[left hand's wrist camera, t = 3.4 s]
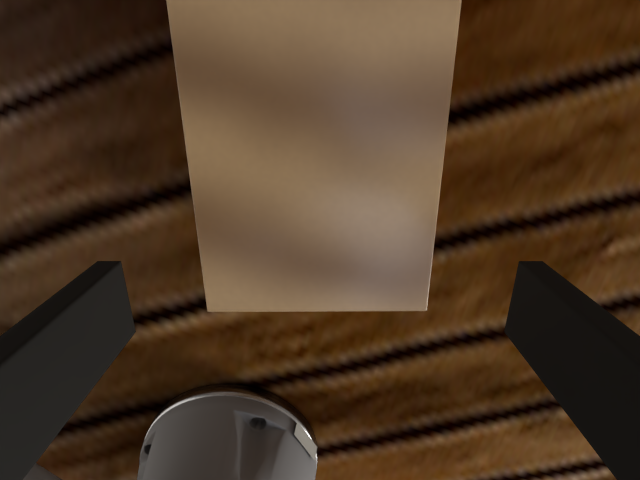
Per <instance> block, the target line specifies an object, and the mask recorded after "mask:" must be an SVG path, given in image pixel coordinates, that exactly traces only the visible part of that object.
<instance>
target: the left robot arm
mask: <svg viewBox="0 0 640 480" xmlns="http://www.w3.org/2000/svg"><path fill="white" fill-rule="evenodd" d="M135 332H136V331H135V326H134V321H133V317H132V312H131V307H130V302H129V298H128V293H127V288H126V283H125V279H124V274H123V269H122V264H121V261H97V262H96V263H95V264H93V265H92V266H91V267H90V268H88V269H87V270H86V271H84V272H83V273H82V274H80V275H79V276H78V277H77V278H75V279H74V280H73V281H71V282H70V283H69V284H67V285H66V286H65V287H64V288H62V289H61V290H60V291H58V292H57V293H56V294H54V295H53V296H52V297H51V298H49V299H48V300H47V301H45V302H44V303H43V304H41V305H40V306H39V307H38V308H36V309H35V310H34V311H32V312H31V313H30V314H28V315H27V316H26V317H25V318H23V319H22V320H21V321H19V322H18V323H17V324H15V325H14V326H13V327H12V328H10V329H9V330H8V331H6V332H5V333H4V334H3V335H1V336H0V480H62V479H60V478H58V477H57V476H55V475H54V474H52V473H51V472H49V471H47V470H46V469H44V468H43V467H41V466H40V465H38V464H36V462H37V460H38V459H39V458H40V457H41V455H42V454H43V453H44V451H45V450H46V449H47V447H48V446H49V445H50V443H51V442H52V441H53V440H54V438H55V437H56V436H57V434H58V433H59V432H60V430H61V429H62V428H63V426H64V425H65V424H66V422H67V421H68V420H69V419H70V417H71V416H72V415H73V413H74V412H75V411H76V409H77V408H78V407H79V405H80V404H81V403H82V401H83V400H84V399H85V398H86V396H87V395H88V394H89V392H90V391H91V390H92V388H93V387H94V386H95V384H96V383H97V382H98V381H99V379H100V378H101V377H102V375H103V374H104V373H105V371H106V370H107V369H108V367H109V366H110V365H111V363H112V362H113V361H114V360H115V358H116V357H117V356H118V354H119V353H120V352H121V350H122V349H123V348H124V346H125V345H126V344H127V342H128V341H129V340H130V339H131V337H132V336H133V335H134V333H135ZM504 332H505V333H506V335H507V336H508V337H509V339H510V340H511V341H512V342H513V344H514V345H515V346H516V348H517V349H518V350H519V352H520V353H521V354H522V356H523V357H524V358H525V360H526V361H527V362H528V363H529V365H530V366H531V367H532V369H533V370H534V371H535V373H536V374H537V375H538V377H539V378H540V379H541V381H542V382H543V383H544V384H545V386H546V387H547V388H548V390H549V391H550V392H551V394H552V395H553V396H554V398H555V399H556V400H557V401H558V403H559V404H560V405H561V407H562V408H563V409H564V411H565V412H566V413H567V415H568V416H569V417H570V419H571V420H572V421H573V422H574V424H575V425H576V426H577V428H578V429H579V430H580V432H581V433H582V434H583V436H584V437H585V438H586V440H587V441H588V442H589V443H590V445H591V446H592V447H593V449H594V450H595V451H596V453H597V454H598V455H599V457H600V458H601V459H602V460H603V462H604V463H605V464H606V466H607V467H608V468H609V470H610V471H611V472H612V474H613V475H614V476H615V478H616V479H617V480H640V336H639V335H637V334H636V333H635V332H634V331H632V330H631V329H630V328H628V327H627V326H626V325H625V324H623V323H622V322H621V321H619V320H618V319H617V318H615V317H614V316H613V315H612V314H610V313H609V312H608V311H606V310H605V309H604V308H602V307H601V306H600V305H599V304H597V303H596V302H595V301H593V300H592V299H591V298H589V297H588V296H587V295H586V294H584V293H583V292H582V291H580V290H579V289H578V288H576V287H575V286H574V285H573V284H571V283H570V282H569V281H567V280H566V279H565V278H563V277H562V276H561V275H560V274H558V273H557V272H556V271H554V270H553V269H552V268H550V267H549V266H548V265H547V264H545V263H544V262H543V261H519V264H518V269H517V274H516V279H515V283H514V288H513V293H512V298H511V302H510V307H509V312H508V317H507V321H506V326H505V331H504ZM316 470H317V443H316V438H315V435H314V433H313V430H312V428H311V426H310V425H309V423H308V422H307V420H306V419H305V418H304V416H303V415H302V414H301V413H300V412H299V411H298V410H297V409H296V408H294V407H293V406H292V405H291V404H289V403H288V402H286V401H285V400H283V399H281V398H280V397H278V396H276V395H274V394H271V393H269V392H267V391H264V390H261V389H257V388H253V387H249V386H243V385H235V384H217V385H209V386H203V387H199V388H195V389H192V390H189V391H187V392H184V393H182V394H180V395H179V396H177V397H175V398H174V399H172V400H171V401H169V402H168V403H167V404H166V405H165V406H164V407H163V408H162V409H161V410H160V411H159V412H158V414H157V415H156V417H155V418H154V420H153V422H152V424H151V426H150V428H149V430H148V432H147V434H146V437H145V440H144V443H143V446H142V449H141V454H140V461H139V471H138V477H137V480H315V476H316Z"/></svg>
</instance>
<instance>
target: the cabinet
mask: <svg viewBox="0 0 640 480" xmlns="http://www.w3.org/2000/svg"><path fill="white" fill-rule="evenodd" d="M166 1H167V9H168V17H169V24H170V32H171V39H172V47H173V54H174V62H175V69H176V77H177V85H178V92H179V100H180V107H181V115H182V122H183V130H184V137H185V145H186V153H187V160H188V168H189V175H190V183H191V190H192V198H193V205H194V213H195V221H196V228H197V236H198V243H199V251H200V258H201V266H202V273H203V281H204V289H205V296H206V304H207V311H208V312H270V311H426V310H427V303H428V294H429V285H430V276H431V267H432V258H433V249H434V240H435V231H436V223H437V214H438V205H439V196H440V187H441V178H442V169H443V160H444V151H445V143H446V134H447V125H448V116H449V107H450V98H451V89H452V80H453V71H454V62H455V54H456V45H457V36H458V27H459V18H460V9H461V0H166Z"/></svg>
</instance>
